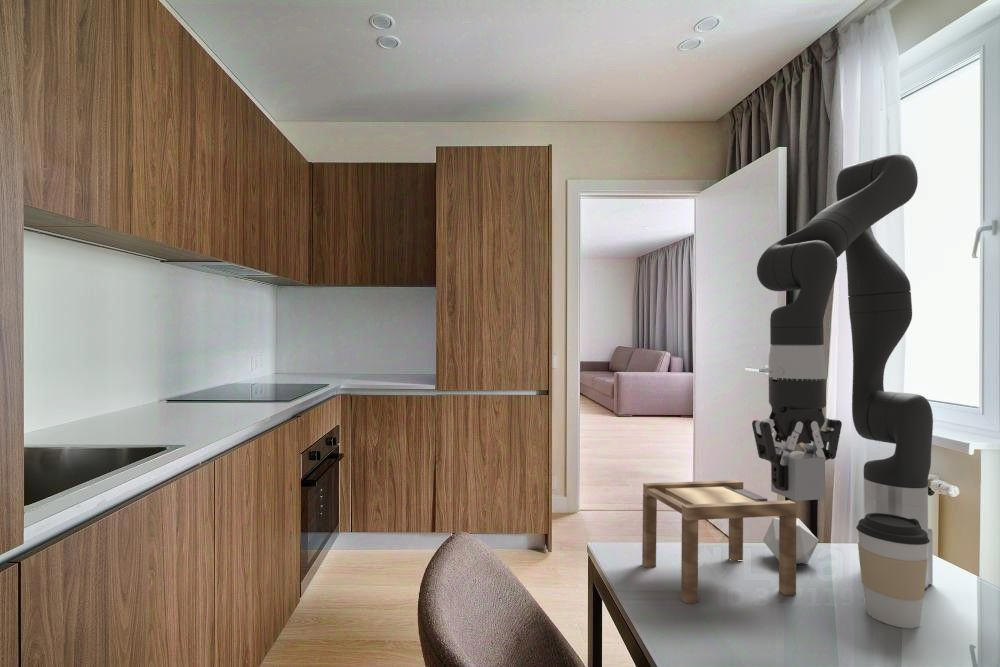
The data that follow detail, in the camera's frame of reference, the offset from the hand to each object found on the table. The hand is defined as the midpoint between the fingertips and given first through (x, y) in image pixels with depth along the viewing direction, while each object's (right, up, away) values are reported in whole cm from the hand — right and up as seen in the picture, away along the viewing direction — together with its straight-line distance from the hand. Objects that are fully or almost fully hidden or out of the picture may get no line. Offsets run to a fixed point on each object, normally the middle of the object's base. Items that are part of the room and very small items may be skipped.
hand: (797, 488), depth 78 cm
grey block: (0, -1, 0) cm, 1 cm away
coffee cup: (+15, -20, +1) cm, 25 cm away
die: (+11, -21, +22) cm, 32 cm away
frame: (-7, -20, +13) cm, 25 cm away
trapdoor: (-6, -8, +14) cm, 17 cm away
